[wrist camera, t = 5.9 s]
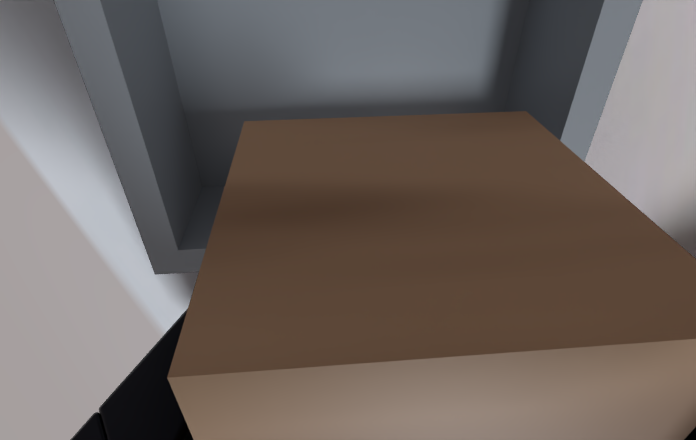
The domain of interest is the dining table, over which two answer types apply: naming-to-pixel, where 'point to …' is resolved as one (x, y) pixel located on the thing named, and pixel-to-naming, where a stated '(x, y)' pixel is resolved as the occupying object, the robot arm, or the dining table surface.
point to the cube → (433, 291)
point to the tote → (318, 81)
